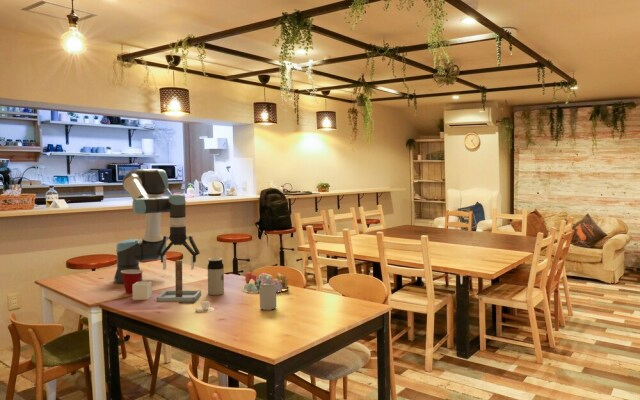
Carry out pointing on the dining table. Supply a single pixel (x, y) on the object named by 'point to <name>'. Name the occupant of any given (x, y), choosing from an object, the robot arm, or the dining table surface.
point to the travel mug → (215, 276)
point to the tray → (187, 297)
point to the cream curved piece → (204, 307)
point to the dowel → (178, 277)
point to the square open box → (142, 290)
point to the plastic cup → (131, 279)
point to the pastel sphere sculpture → (255, 288)
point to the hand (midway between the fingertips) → (178, 269)
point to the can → (267, 295)
